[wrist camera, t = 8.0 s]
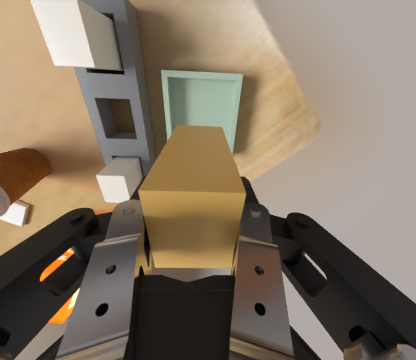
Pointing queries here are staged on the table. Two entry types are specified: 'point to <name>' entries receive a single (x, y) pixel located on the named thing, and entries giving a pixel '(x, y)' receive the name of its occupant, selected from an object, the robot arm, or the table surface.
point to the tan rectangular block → (193, 200)
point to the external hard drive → (17, 213)
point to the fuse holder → (120, 90)
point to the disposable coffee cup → (19, 174)
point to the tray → (202, 100)
